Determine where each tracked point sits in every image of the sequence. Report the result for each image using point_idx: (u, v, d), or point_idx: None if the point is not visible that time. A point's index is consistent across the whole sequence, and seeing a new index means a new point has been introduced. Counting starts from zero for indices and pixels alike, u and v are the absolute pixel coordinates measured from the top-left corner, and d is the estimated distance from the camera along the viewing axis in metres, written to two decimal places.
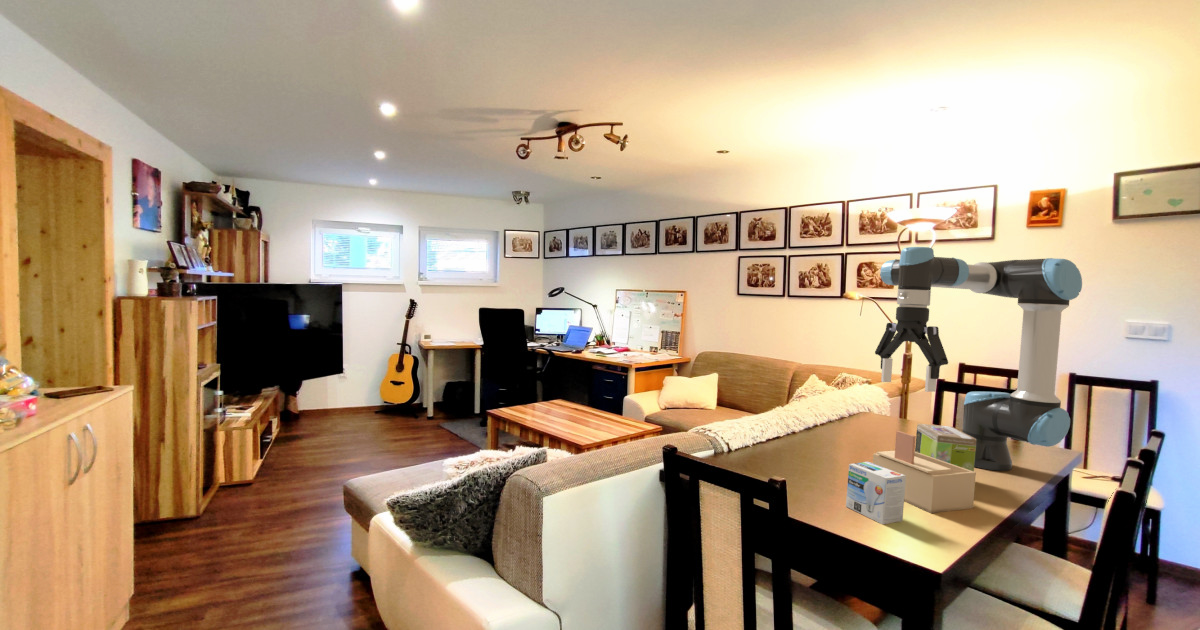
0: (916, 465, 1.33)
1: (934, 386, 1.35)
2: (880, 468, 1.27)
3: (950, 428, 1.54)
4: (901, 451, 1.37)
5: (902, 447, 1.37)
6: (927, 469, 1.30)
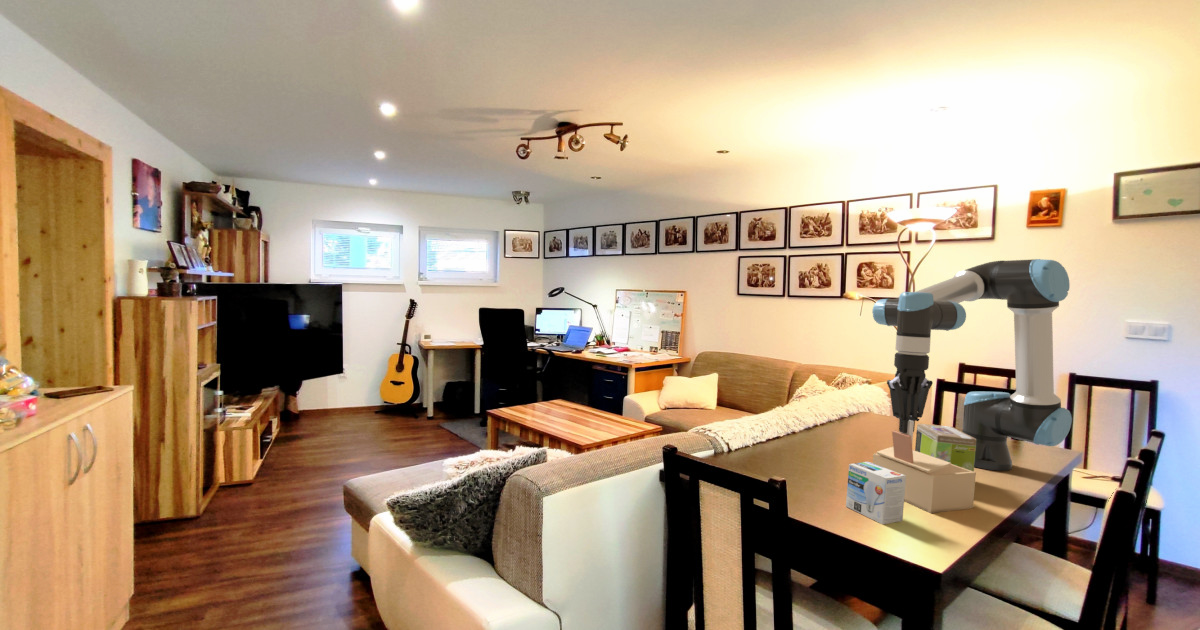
0: (916, 464, 1.33)
1: None
2: (880, 468, 1.27)
3: (950, 428, 1.54)
4: (900, 451, 1.37)
5: (900, 447, 1.36)
6: (927, 468, 1.30)
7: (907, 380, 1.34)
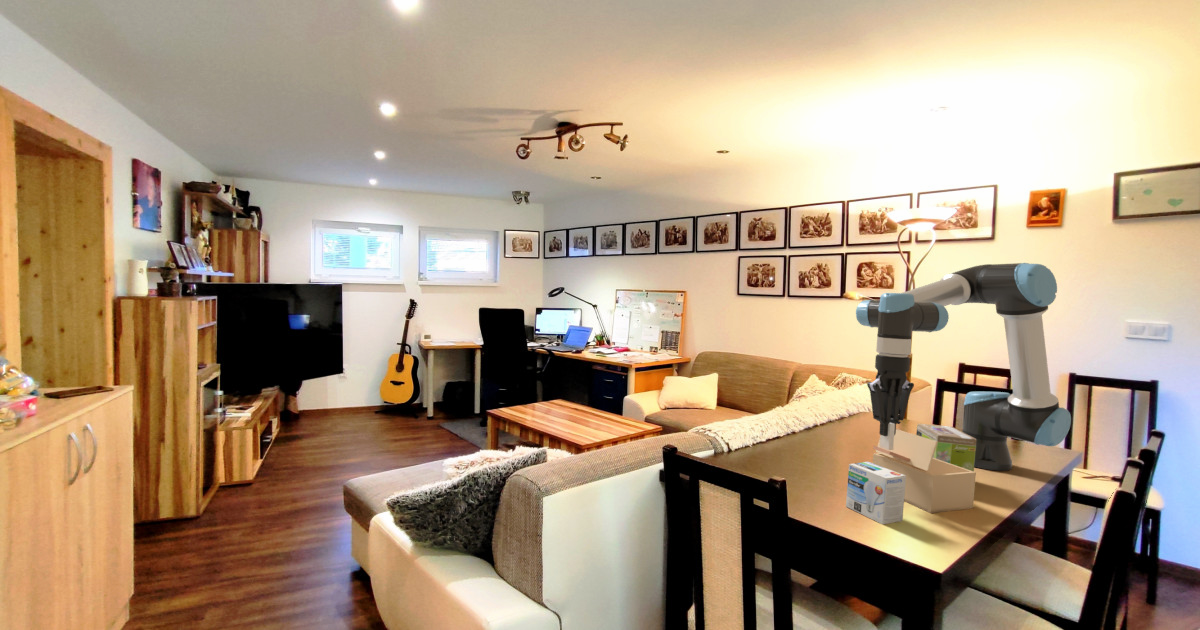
0: (913, 462, 1.33)
1: (887, 444, 1.33)
2: (880, 468, 1.27)
3: (950, 428, 1.54)
4: None
5: None
6: (924, 466, 1.30)
7: (888, 382, 1.32)
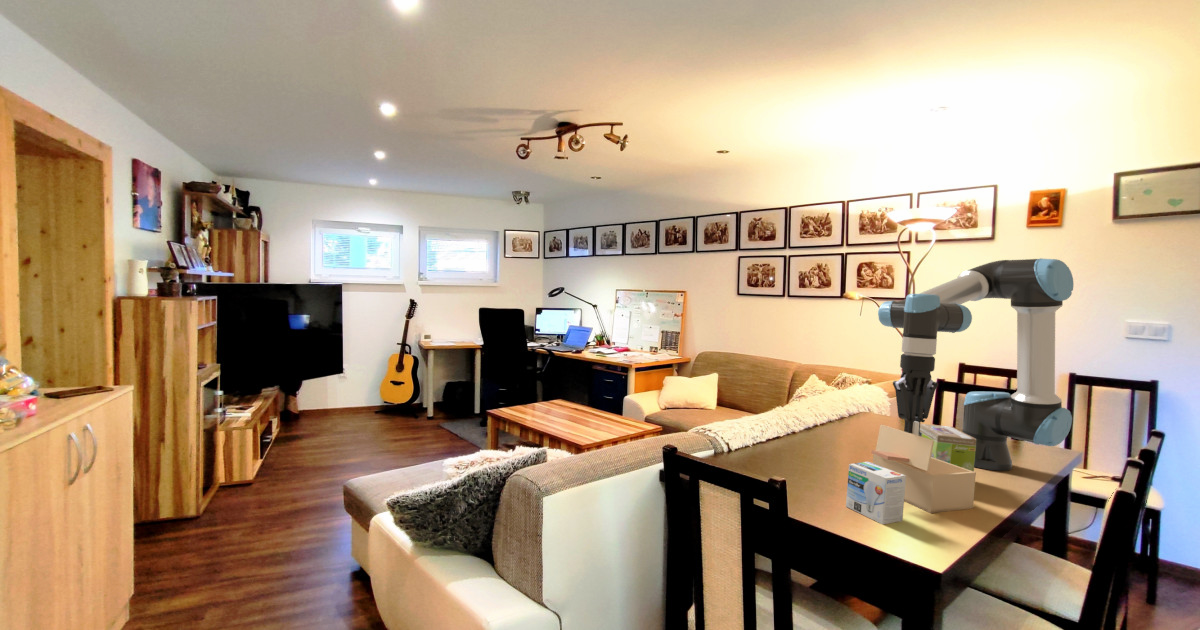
0: (913, 462, 1.33)
1: None
2: (880, 468, 1.27)
3: (950, 428, 1.54)
4: None
5: None
6: (923, 466, 1.30)
7: (913, 381, 1.34)
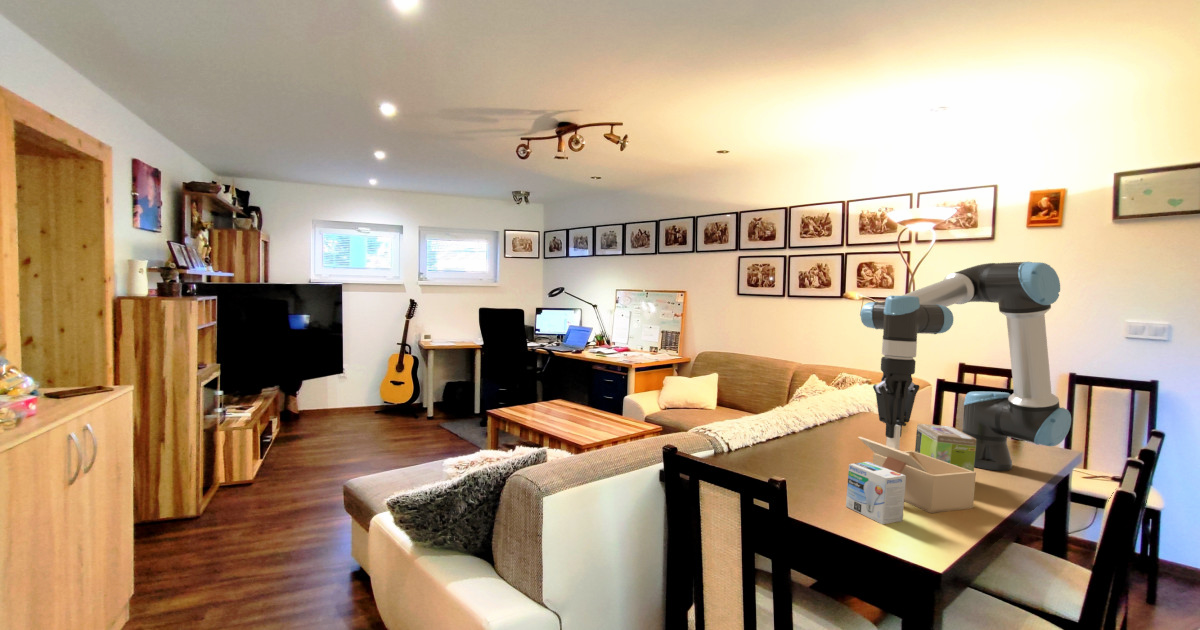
0: (909, 465, 1.32)
1: (893, 446, 1.34)
2: (880, 468, 1.27)
3: (950, 428, 1.54)
4: None
5: None
6: (920, 469, 1.29)
7: (893, 385, 1.32)
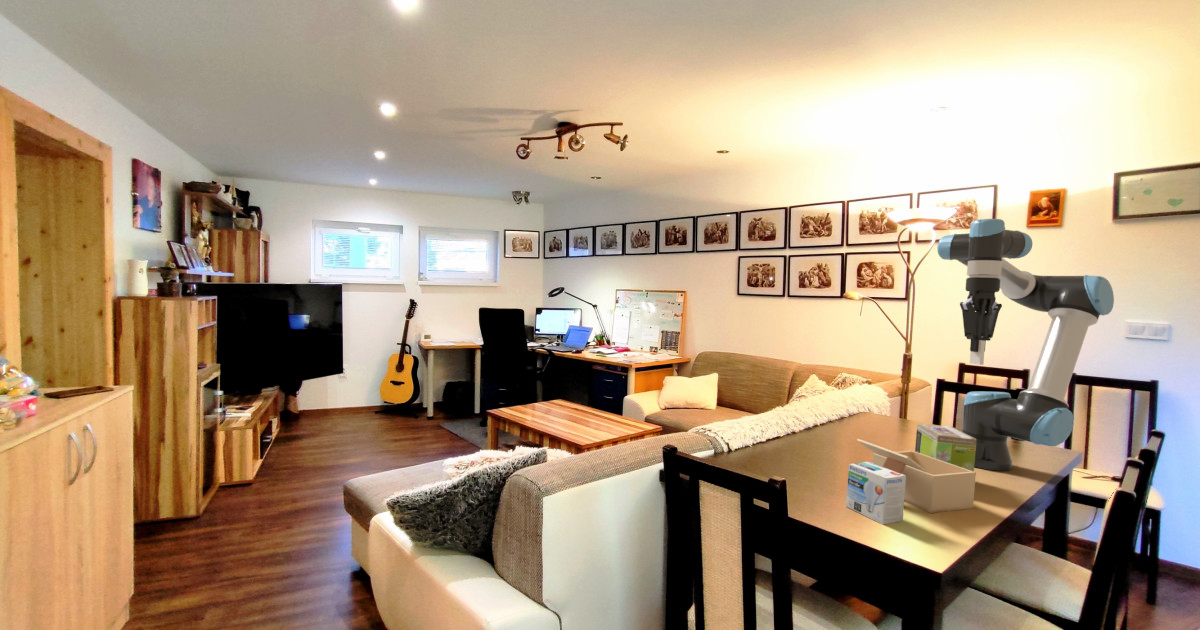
0: (909, 465, 1.32)
1: (978, 359, 1.44)
2: (880, 468, 1.27)
3: (950, 428, 1.54)
4: None
5: None
6: (920, 469, 1.29)
7: (979, 302, 1.43)
